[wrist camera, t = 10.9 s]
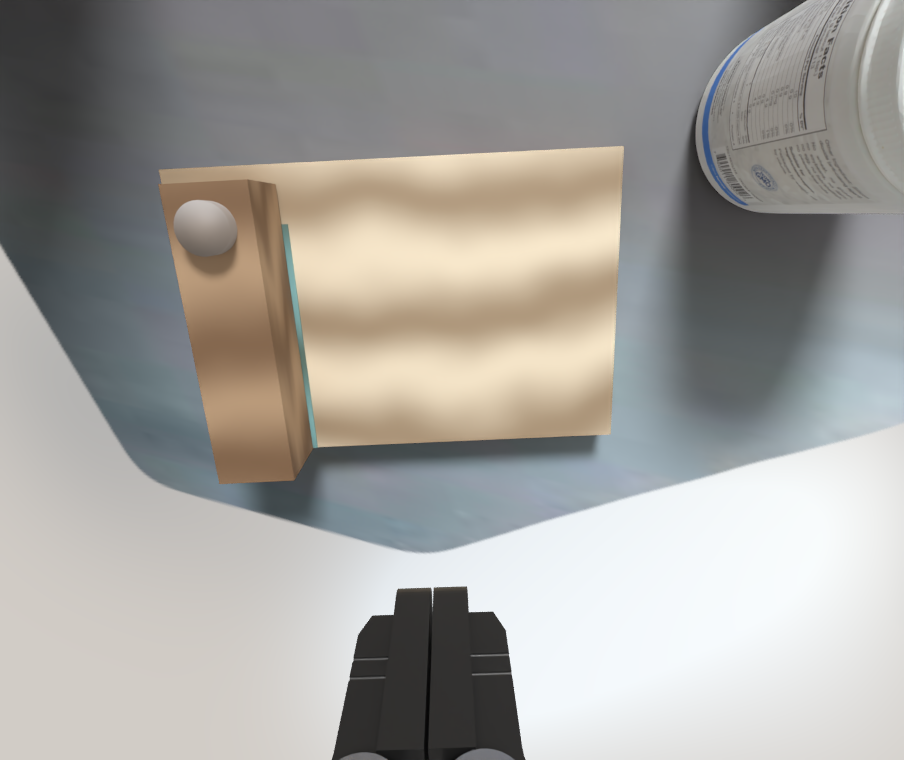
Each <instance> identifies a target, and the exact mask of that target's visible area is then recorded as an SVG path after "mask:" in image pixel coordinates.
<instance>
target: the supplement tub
mask: <svg viewBox="0 0 904 760" xmlns="http://www.w3.org/2000/svg"><path fill="white" fill-rule="evenodd" d="M696 148H697V153H698V158H699V161H700V164H701V167H702V170H703V172H704V174H705V176H706V177H707V179H708V181H709V182H710V183H711V185H712V186H713V187H714V188H715V190H716V191H717V192H718V193H719V194H720V195H721V196H723V197H724V198H725V199H726V200H728V201H730V202H731V203H733V204H735V205H736V206H738V207H741V208H743V209H746V210H749V211H753V212H760V213H778V214H904V0H807V1H806V2H804V3H802V4H801V5H799V6H797V7H796V8H794V9H793V10H791V11H790V12H788V13H786V14H785V15H783V16H781V17H780V18H778V19H777V20H775V21H773V22H772V23H770V24H768V25H767V26H765V27H763V28H762V29H760V30H759V31H757V32H756V33H754V34H752V35H751V36H750V37H748V38H747V39H746V40H744V41H743V42H742V43H740V44H739V45H738V46H737V47H736V48H735V49H734V50H733V51H732V52H731V53H730V54H729V55H728V56H727V57H726V58H725V59H724V61H723V62H722V63H721V64H720V66H719V67H718V68H717V70H716V71H715V73H714V74H713V76H712V78H711V79H710V81H709V83H708V85H707V87H706V89H705V92H704V94H703V97H702V100H701V103H700V106H699V110H698V115H697V121H696Z"/></svg>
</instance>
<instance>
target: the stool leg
mask: <svg viewBox="0 0 904 760" xmlns="http://www.w3.org/2000/svg"><path fill="white" fill-rule="evenodd" d="M158 186H159V190H160V195H161V200H162V205H163V210H164V215H165V220H166V225H167V230H168V234H169V239H170V244H171V249H172V254H173V259H174V264H175V269H176V274H177V278H178V283H179V288H180V293H181V298H182V303H183V308H184V313H185V318H186V322H187V327H188V332H189V337H190V342H191V347H192V352H193V357H194V362H195V366H196V371H197V376H198V381H199V386H200V391H201V396H202V401H203V405H204V410H205V415H206V420H207V425H208V430H209V435H210V440H211V445H212V449H213V454H214V459H215V464H216V469H217V474H218V479H219V484H230V483H251V482H273V481H294V480H295V478H296V477H297V475H298V473H299V472H300V470H301V468H302V467H303V465H304V463H305V461H306V460H307V458H308V456H309V455H310V453H311V451H312V450H313V444H312V437H311V430H310V423H309V416H308V409H307V402H306V395H305V388H304V381H303V374H302V367H301V360H300V353H299V346H298V339H297V332H296V325H295V318H294V311H293V304H292V297H291V290H290V283H289V276H288V269H287V262H286V255H285V248H284V241H283V234H282V227H281V220H280V212H279V205H278V198H277V191H276V184H272V183H266V182H260V181H254V180H248V179H243V180H225V181H207V182H189V183H171V184H158Z"/></svg>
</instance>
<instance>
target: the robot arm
mask: <svg viewBox="0 0 904 760" xmlns="http://www.w3.org/2000/svg"><path fill="white" fill-rule="evenodd" d="M433 595H434V596H433V607H432V591H431V588H411V589H398V590H397V595H396V601H395V610H394V615H380V616H372V617H371V618H370V620H369V621H368V622H367V624H366V625H365V626H364V628H363V629H362V631H361V632H360V633H359V635H358V639H357V644H356V649H355V654H354V661H353V663H352V668H351V673H350V681H349V682H348V687H347V692H346V697H345V701H344V706H343V711H342V716H341V721H340V726H339V731H338V735H337V740H336V745H335V750H334V754H333V758H332V760H525V757H524V754H523V749H522V744H521V736H520V729H519V722H518V715H517V708H516V701H515V694H514V687H513V679H512V675H511V666H510V658H509V651H508V645H507V637H506V630H505V629H504V627H503V626H502V624H501V623H500V621H499V620H498V618H497V617H496V616H495V614H494V613H493V612H469V611H468V593H467V587H439V588H438V587H437V588H434V594H433Z"/></svg>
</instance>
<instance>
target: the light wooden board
mask: <svg viewBox="0 0 904 760" xmlns="http://www.w3.org/2000/svg"><path fill="white" fill-rule="evenodd" d="M623 152H624V146H616V147H597V148H577V149H557V150H537V151H518V152H498V153H478V154H459V155H439V156H419V157H399V158H380V159H360V160H340V161H321V162H301V163H281V164H261V165H242V166H222V167H202V168H182V169H163V170H159V173H160V178H161V183H162V184H171V183H189V182H207V181H225V180H243V179H248V180H254V181H260V182H266V183H272V184H276V191H277V198H278V205H279V212H280V220H281V227H282V234H283V241H284V248H285V255H286V262H287V269H288V276H289V283H290V290H291V297H292V304H293V311H294V318H295V325H296V332H297V339H298V346H299V353H300V360H301V367H302V374H303V381H304V388H305V395H306V402H307V409H308V416H309V423H310V430H311V437H312V444H313V448H318V447H333V446H356V445H379V444H402V443H425V442H448V441H471V440H494V439H517V438H540V437H562V436H585V435H608V434H611V412H612V390H613V369H614V347H615V325H616V304H617V282H618V261H619V239H620V217H621V196H622V174H623Z"/></svg>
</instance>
